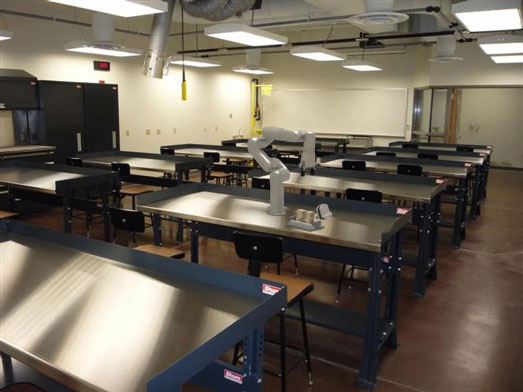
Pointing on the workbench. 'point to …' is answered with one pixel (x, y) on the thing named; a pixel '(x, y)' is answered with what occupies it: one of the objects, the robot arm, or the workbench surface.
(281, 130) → the robot arm
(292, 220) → the track board
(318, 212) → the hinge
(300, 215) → the door panel
